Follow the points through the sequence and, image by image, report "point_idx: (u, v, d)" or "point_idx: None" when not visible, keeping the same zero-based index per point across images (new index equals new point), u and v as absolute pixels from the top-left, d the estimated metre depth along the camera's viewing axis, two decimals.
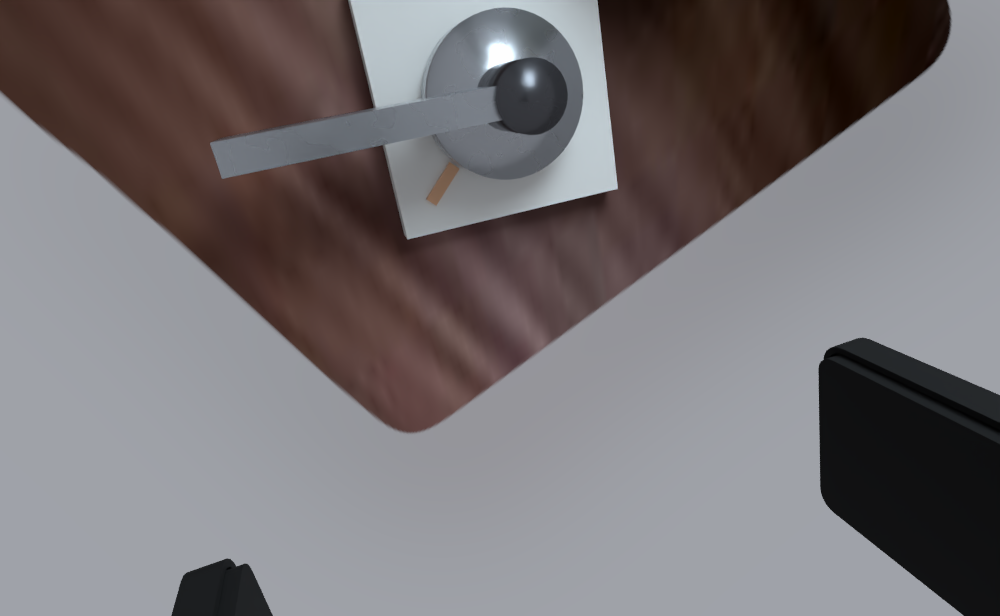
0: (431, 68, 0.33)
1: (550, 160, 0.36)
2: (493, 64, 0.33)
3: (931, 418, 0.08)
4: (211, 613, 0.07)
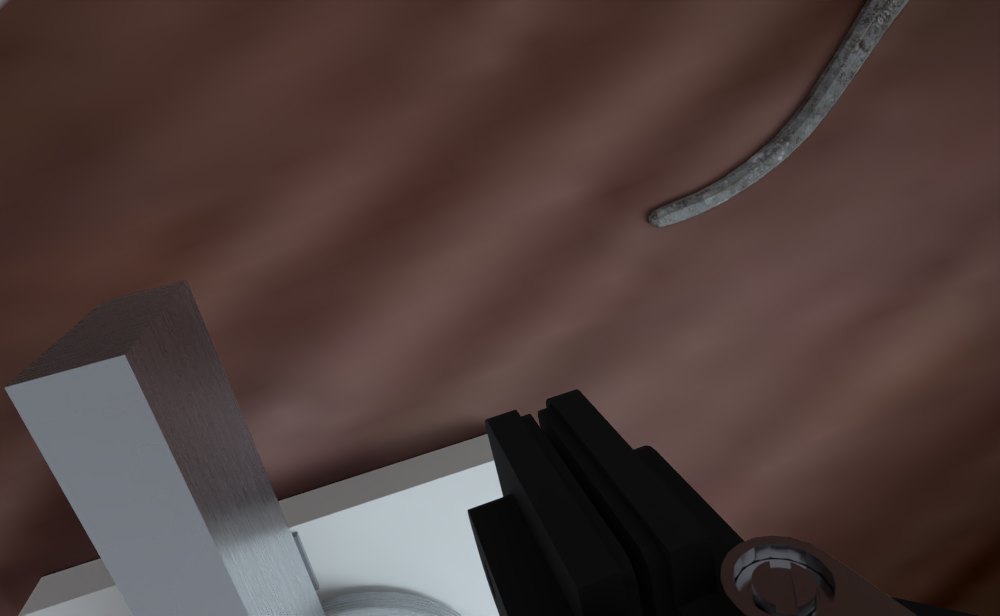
0: None
1: None
2: None
3: (584, 477, 0.08)
4: (531, 437, 0.09)
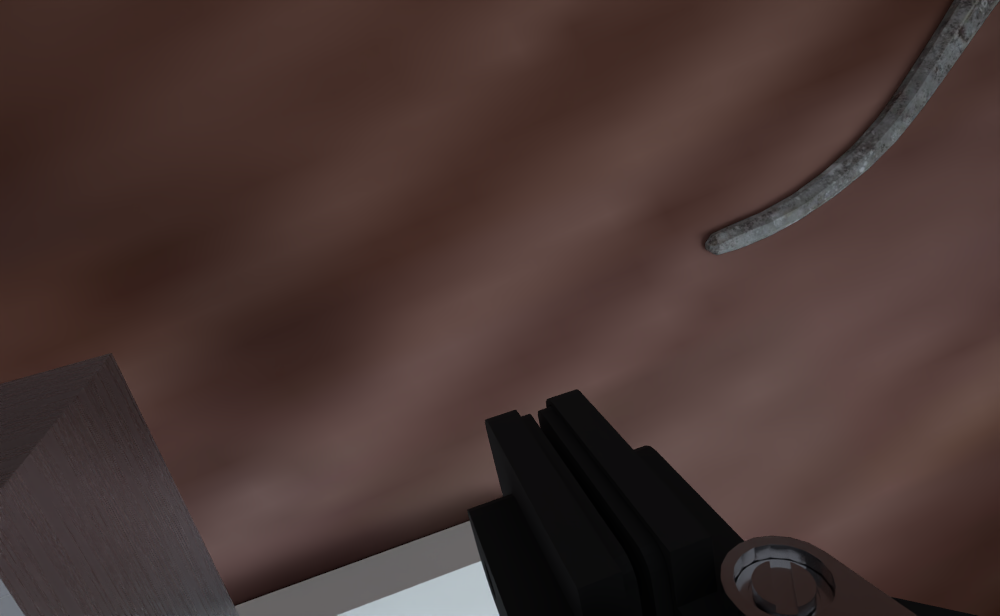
0: None
1: None
2: None
3: (584, 477, 0.08)
4: (531, 437, 0.09)
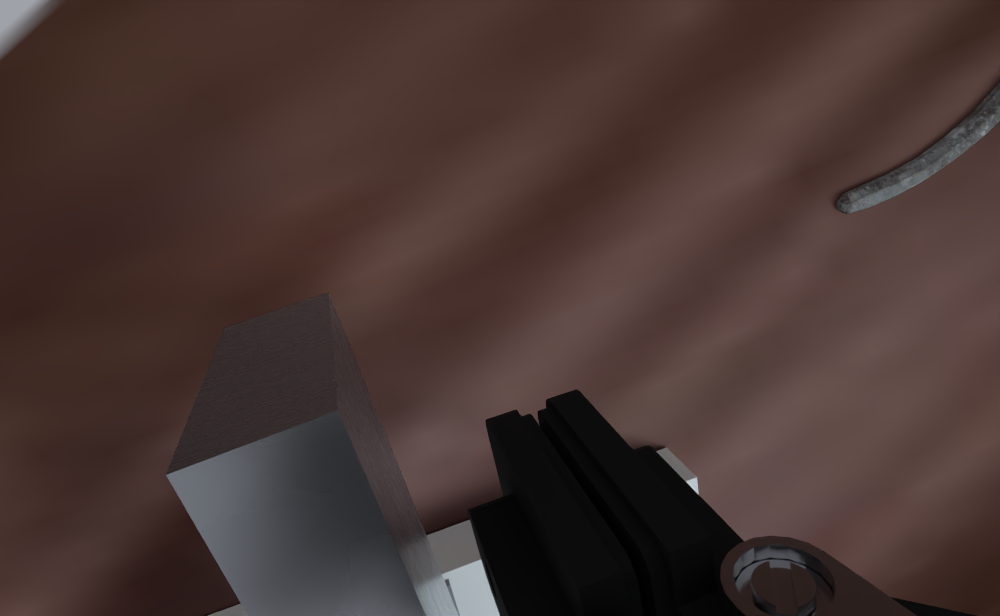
0: None
1: None
2: None
3: (584, 478, 0.08)
4: (532, 437, 0.09)
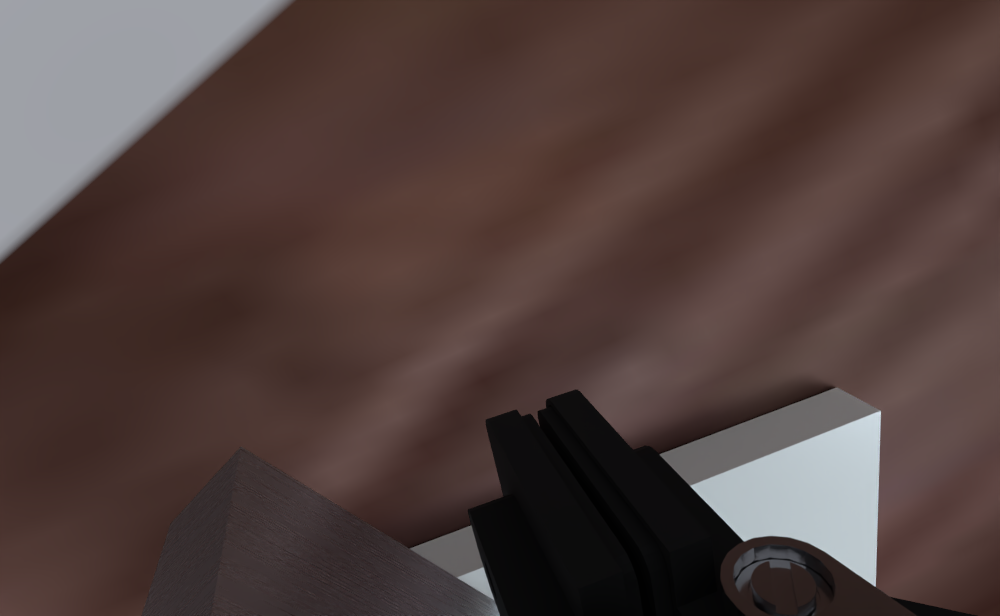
0: None
1: None
2: None
3: (584, 477, 0.08)
4: (532, 437, 0.09)
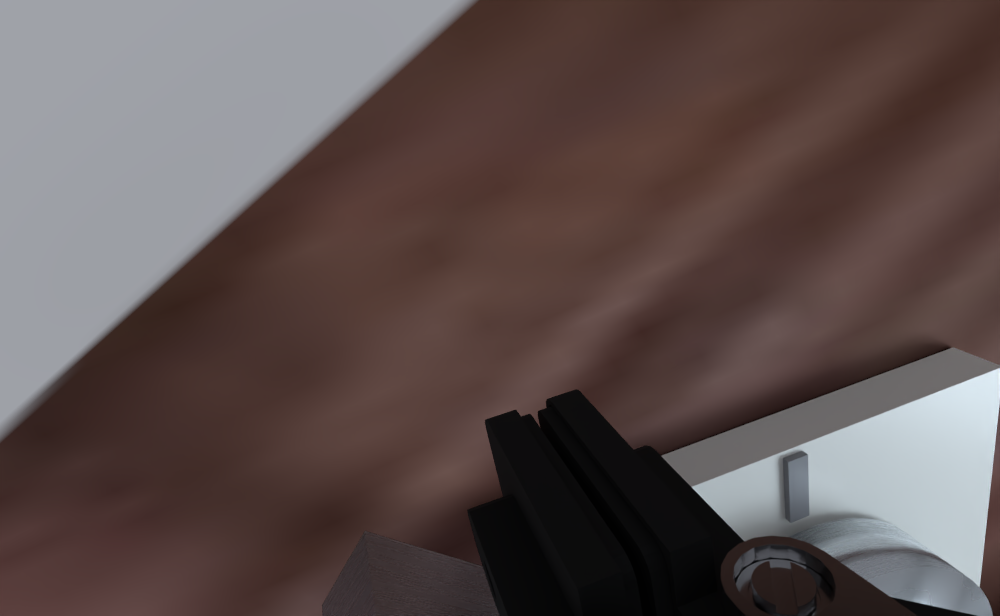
0: None
1: None
2: None
3: (585, 477, 0.08)
4: (532, 437, 0.09)
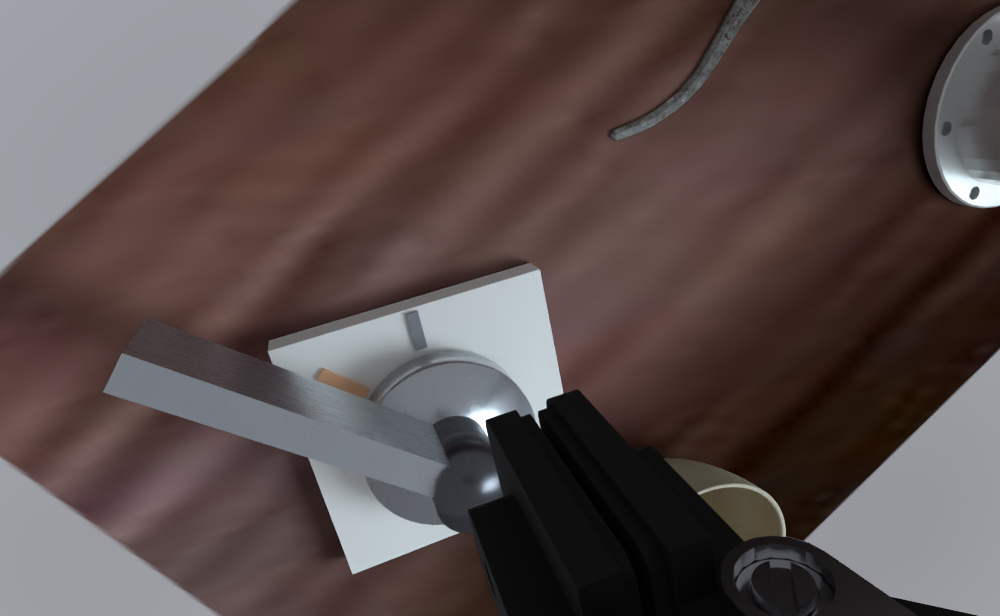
0: (404, 384, 0.29)
1: None
2: (461, 415, 0.31)
3: (584, 477, 0.08)
4: (531, 437, 0.09)
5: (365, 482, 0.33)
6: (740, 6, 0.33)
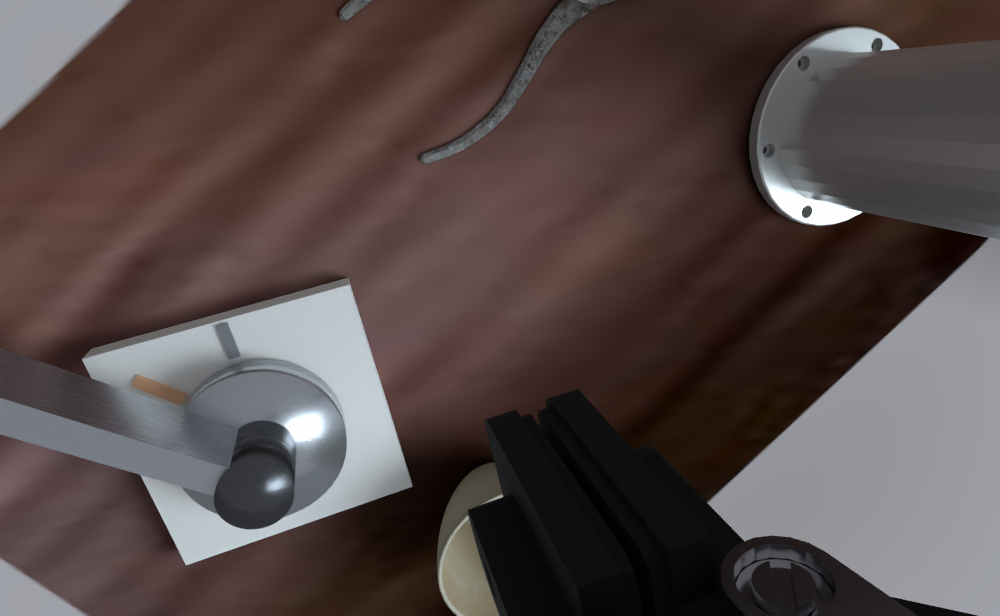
0: (206, 391, 0.32)
1: None
2: (267, 419, 0.33)
3: (584, 477, 0.08)
4: (531, 437, 0.09)
5: None
6: (541, 37, 0.34)
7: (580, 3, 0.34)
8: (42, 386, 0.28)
